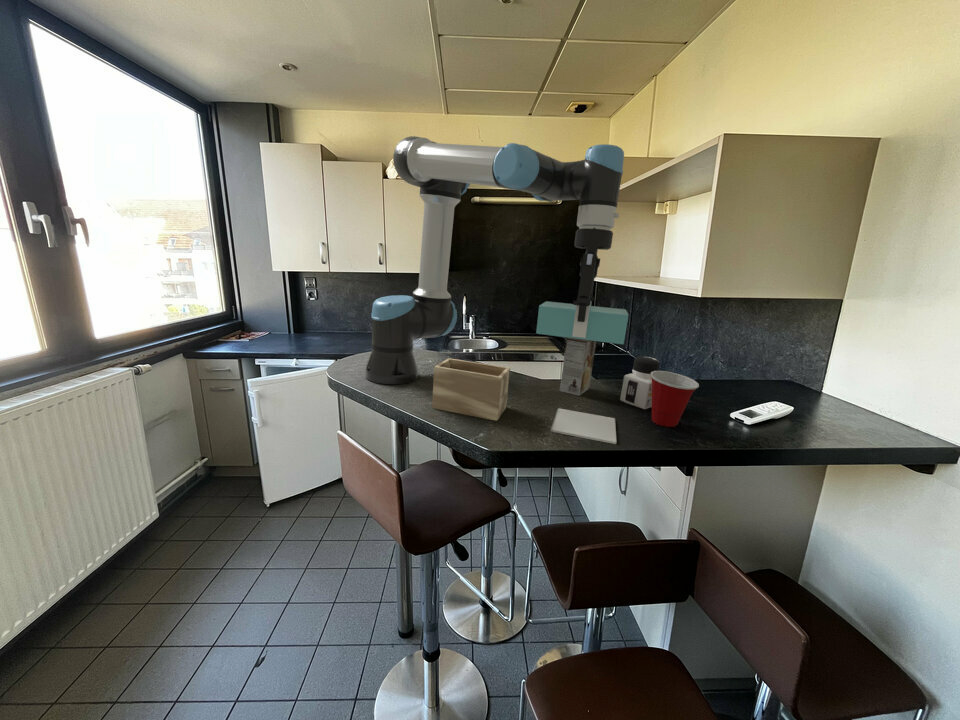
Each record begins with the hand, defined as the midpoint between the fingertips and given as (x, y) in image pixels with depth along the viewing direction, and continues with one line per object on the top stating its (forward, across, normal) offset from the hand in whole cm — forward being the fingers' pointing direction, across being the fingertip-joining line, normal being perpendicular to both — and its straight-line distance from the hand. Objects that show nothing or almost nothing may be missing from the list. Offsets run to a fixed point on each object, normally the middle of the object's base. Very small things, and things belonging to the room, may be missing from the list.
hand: (580, 332), depth 88 cm
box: (+22, -4, +23) cm, 32 cm away
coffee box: (+22, +26, 0) cm, 34 cm away
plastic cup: (+22, +11, -23) cm, 34 cm away
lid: (0, 0, 0) cm, 0 cm away
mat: (+22, 0, 0) cm, 22 cm away
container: (+22, +24, -18) cm, 37 cm away
